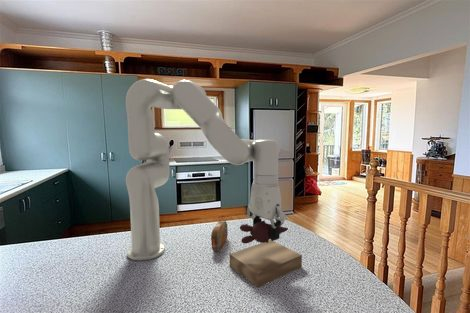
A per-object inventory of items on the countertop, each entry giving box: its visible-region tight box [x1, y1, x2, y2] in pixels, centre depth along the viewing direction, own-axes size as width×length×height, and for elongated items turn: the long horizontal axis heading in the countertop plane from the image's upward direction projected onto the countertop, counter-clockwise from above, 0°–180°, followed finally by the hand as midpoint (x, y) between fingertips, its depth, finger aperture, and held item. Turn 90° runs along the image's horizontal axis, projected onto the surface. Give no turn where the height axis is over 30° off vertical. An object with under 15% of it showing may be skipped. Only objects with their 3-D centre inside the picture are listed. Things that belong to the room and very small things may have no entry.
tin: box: [210, 220, 229, 252], centre depth 95 cm, size 15×3×8 cm, turn 168°
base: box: [229, 239, 303, 288], centre depth 80 cm, size 14×18×4 cm
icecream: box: [239, 220, 289, 244], centre depth 79 cm, size 7×7×15 cm
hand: (265, 234), depth 79 cm, fingers closed on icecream, 7 cm apart
